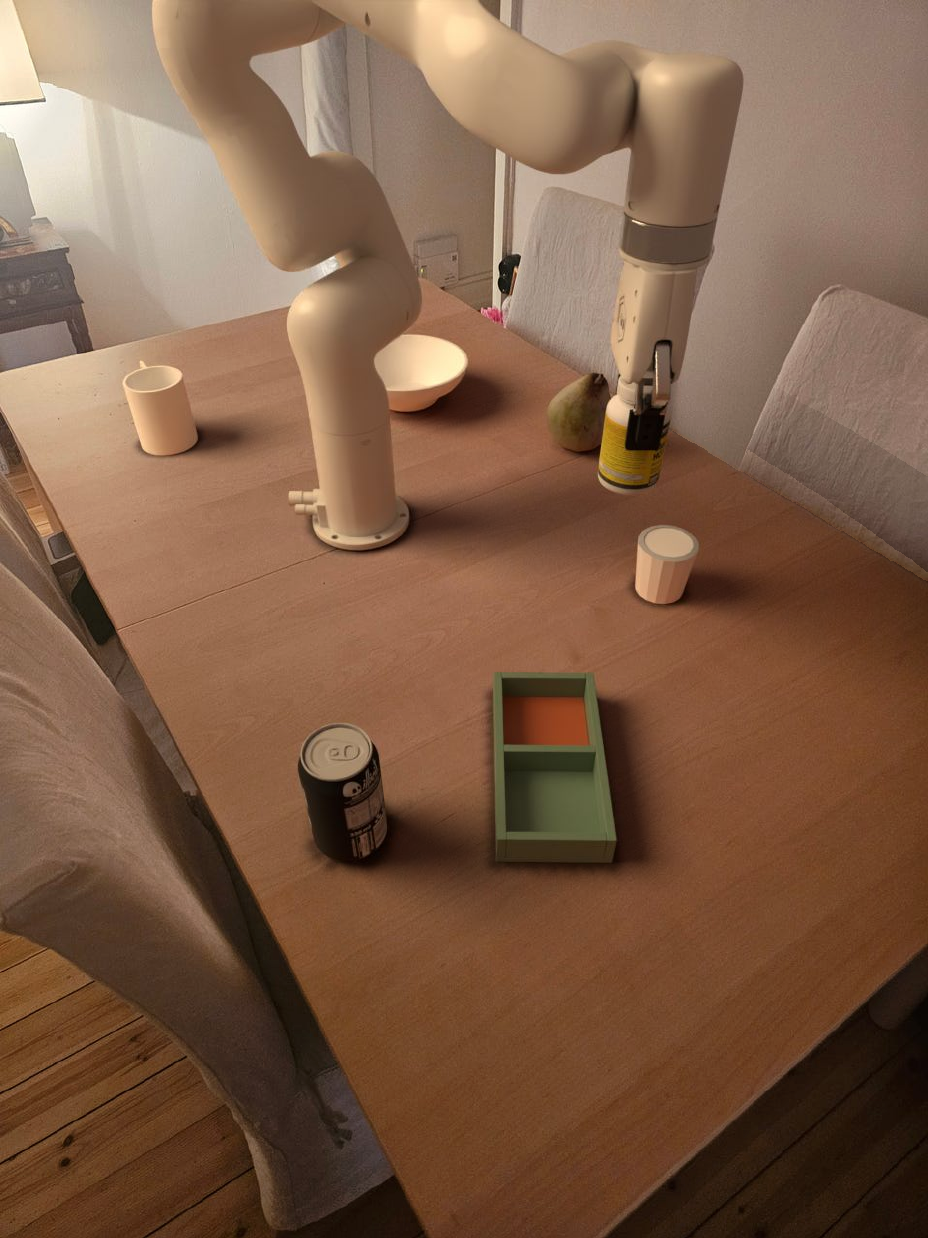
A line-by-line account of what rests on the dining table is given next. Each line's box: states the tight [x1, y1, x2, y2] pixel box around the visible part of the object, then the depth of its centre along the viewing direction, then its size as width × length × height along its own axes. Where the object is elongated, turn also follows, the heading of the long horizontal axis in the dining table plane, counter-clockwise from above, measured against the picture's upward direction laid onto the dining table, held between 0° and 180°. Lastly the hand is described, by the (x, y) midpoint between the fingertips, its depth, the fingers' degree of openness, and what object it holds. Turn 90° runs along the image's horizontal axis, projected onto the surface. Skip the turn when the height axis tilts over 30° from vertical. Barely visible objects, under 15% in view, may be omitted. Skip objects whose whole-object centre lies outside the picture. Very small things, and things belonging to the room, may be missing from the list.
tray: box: [492, 671, 618, 864], centre depth 77 cm, size 10×19×4 cm, turn 179°
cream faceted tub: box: [634, 524, 700, 605], centre depth 96 cm, size 7×7×7 cm
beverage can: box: [297, 722, 388, 863], centre depth 70 cm, size 7×7×12 cm
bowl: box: [374, 333, 469, 413], centre depth 130 cm, size 20×20×7 cm
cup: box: [121, 360, 199, 456], centre depth 121 cm, size 8×12×10 cm
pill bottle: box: [597, 372, 672, 496], centre depth 80 cm, size 6×6×11 cm
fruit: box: [546, 372, 612, 453], centre depth 118 cm, size 10×9×12 cm
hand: (635, 428), depth 80 cm, fingers closed on pill bottle, 6 cm apart
